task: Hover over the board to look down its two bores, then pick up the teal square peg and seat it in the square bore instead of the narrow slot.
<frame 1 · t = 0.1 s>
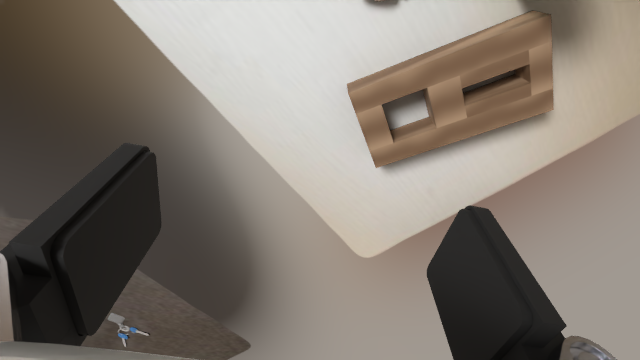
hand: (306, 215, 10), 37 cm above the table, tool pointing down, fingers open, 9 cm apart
key chain: (132, 328, 80), on the table
bore board: (442, 91, 45), on the table
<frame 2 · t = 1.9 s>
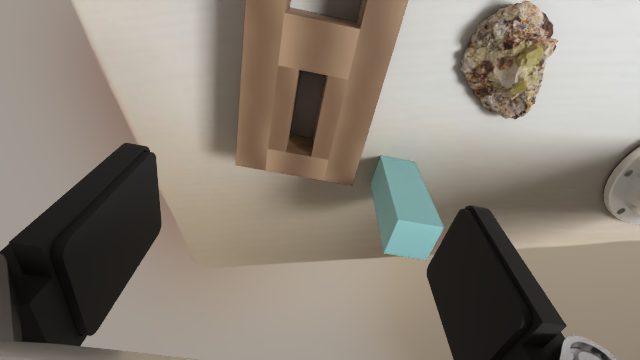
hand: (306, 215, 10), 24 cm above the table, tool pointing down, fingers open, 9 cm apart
bore board: (318, 44, 30), on the table
square peg: (392, 173, 37), on the table
mineral rock: (502, 62, 31), on the table
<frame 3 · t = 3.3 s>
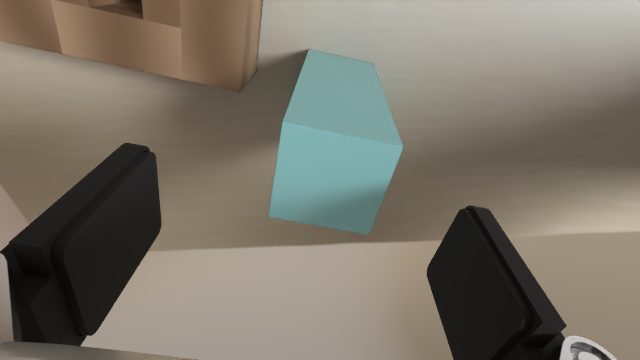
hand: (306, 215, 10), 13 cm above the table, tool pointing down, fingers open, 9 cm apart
square peg: (334, 88, 21), on the table
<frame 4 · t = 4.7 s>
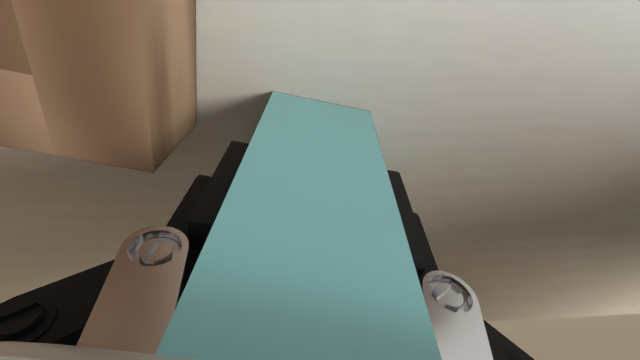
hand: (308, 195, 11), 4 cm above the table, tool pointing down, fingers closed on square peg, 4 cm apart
square peg: (312, 145, 14), on the table, touching gripper
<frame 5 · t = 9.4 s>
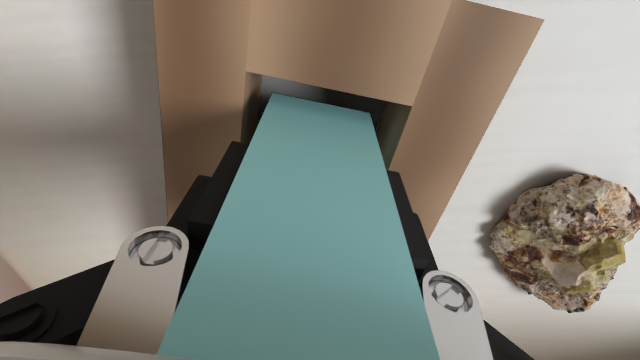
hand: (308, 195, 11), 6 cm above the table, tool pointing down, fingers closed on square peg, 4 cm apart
bore board: (299, 206, 19), on the table
square peg: (312, 146, 14), point 3 cm above the table, touching gripper
mineral rock: (550, 233, 21), on the table
when the fingers open (6 cm above the table, at t = 9.8 s): square peg drops 2 cm, resting in bore board.
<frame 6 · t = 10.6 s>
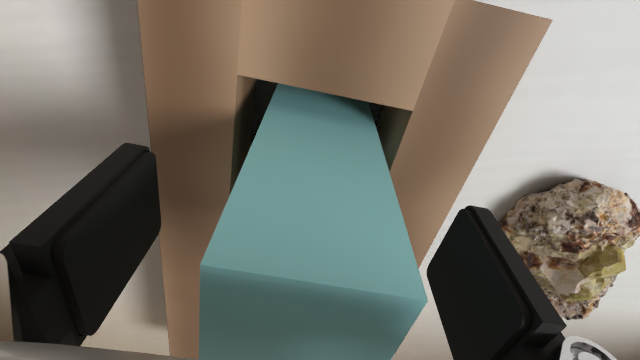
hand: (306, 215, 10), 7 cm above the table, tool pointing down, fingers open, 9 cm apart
bore board: (296, 212, 19), on the table
square peg: (315, 126, 16), resting in bore board
mineral rock: (549, 239, 20), on the table
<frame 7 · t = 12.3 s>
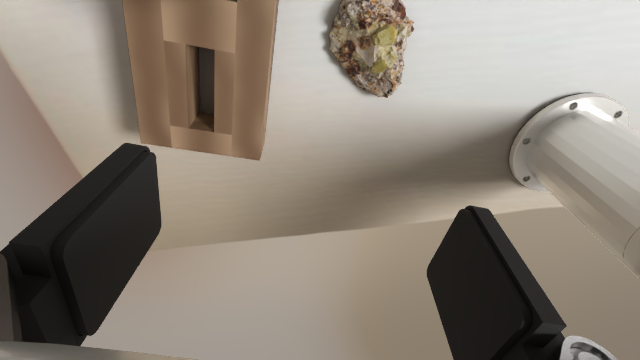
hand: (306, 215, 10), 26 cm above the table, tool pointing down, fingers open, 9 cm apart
bore board: (211, 20, 31), on the table
mineral rock: (371, 43, 33), on the table
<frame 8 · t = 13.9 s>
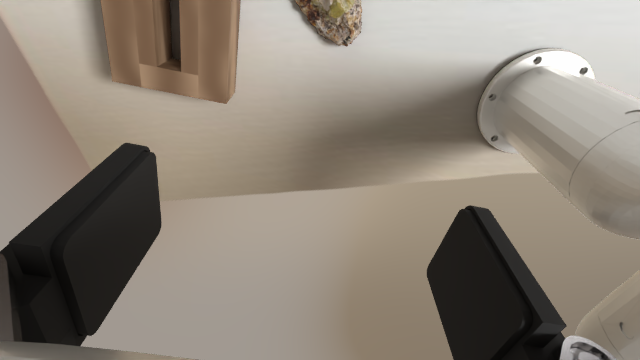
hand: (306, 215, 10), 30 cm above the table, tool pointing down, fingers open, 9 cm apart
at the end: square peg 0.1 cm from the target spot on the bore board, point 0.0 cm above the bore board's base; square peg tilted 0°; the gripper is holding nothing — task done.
